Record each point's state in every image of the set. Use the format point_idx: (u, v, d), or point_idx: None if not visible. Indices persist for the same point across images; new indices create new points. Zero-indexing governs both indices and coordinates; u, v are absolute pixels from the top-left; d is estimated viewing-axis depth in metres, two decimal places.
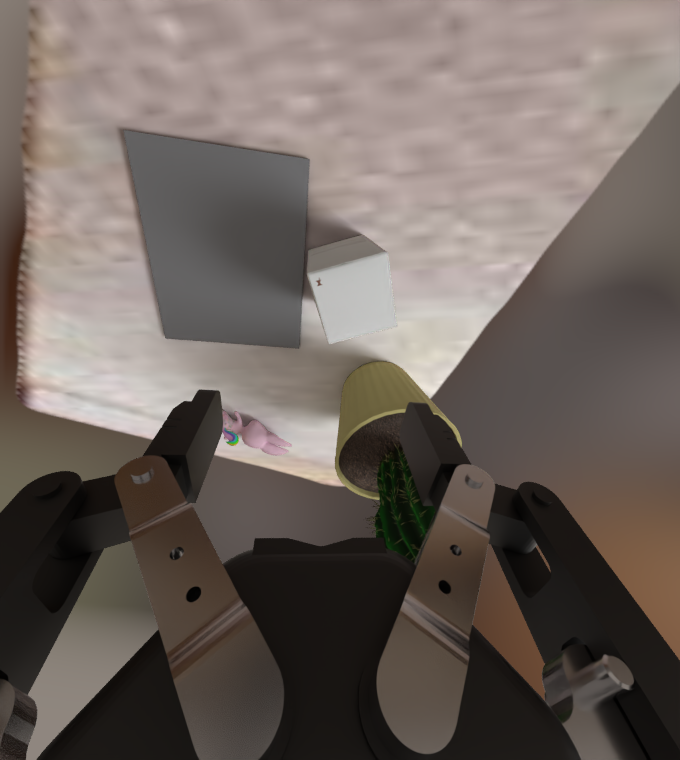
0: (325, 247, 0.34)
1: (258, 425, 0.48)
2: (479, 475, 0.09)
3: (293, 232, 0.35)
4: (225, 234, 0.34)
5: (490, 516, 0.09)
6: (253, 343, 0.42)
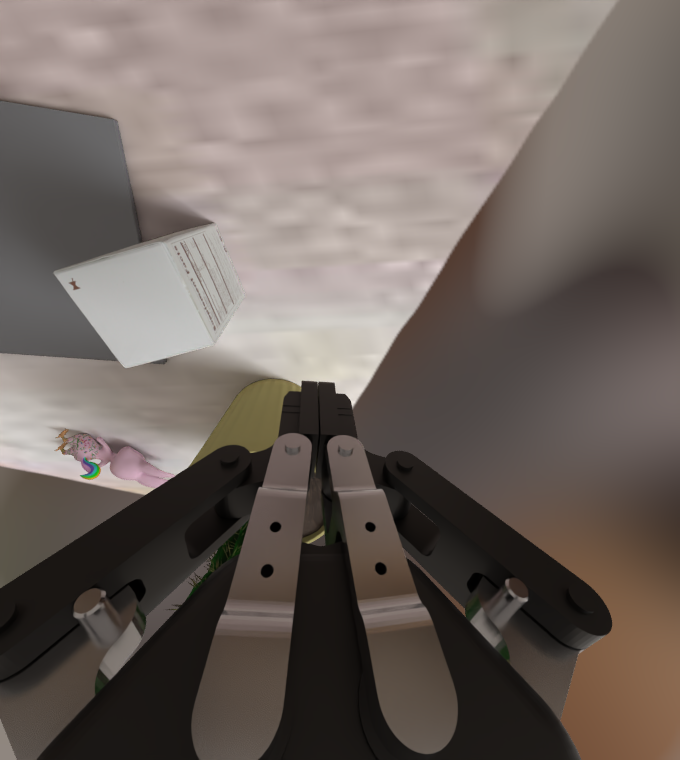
0: None
1: (129, 453, 0.40)
2: (348, 442, 0.10)
3: (117, 218, 0.27)
4: (26, 220, 0.26)
5: None
6: (104, 358, 0.34)
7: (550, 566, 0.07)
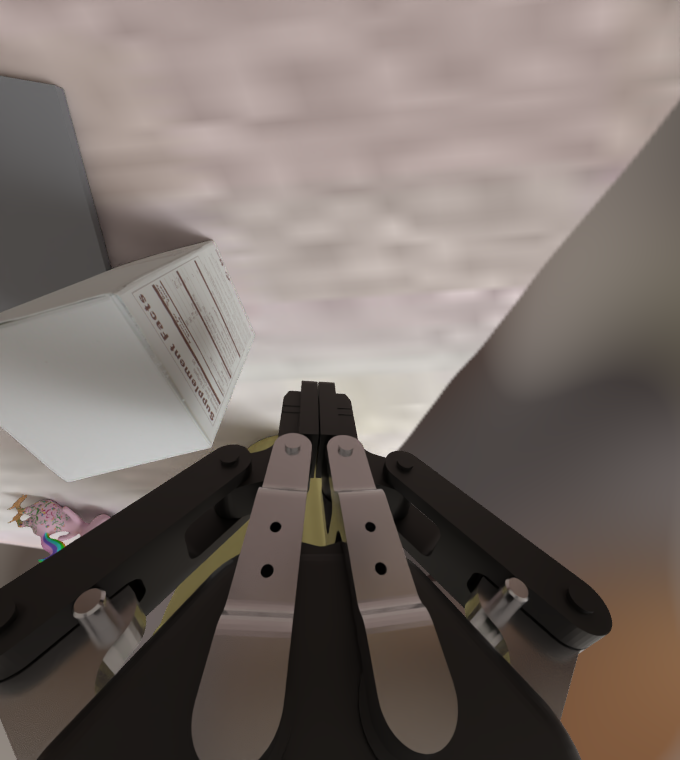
0: (126, 264, 0.18)
1: None
2: (348, 442, 0.10)
3: (72, 235, 0.19)
4: None
5: None
6: None
7: (550, 566, 0.07)
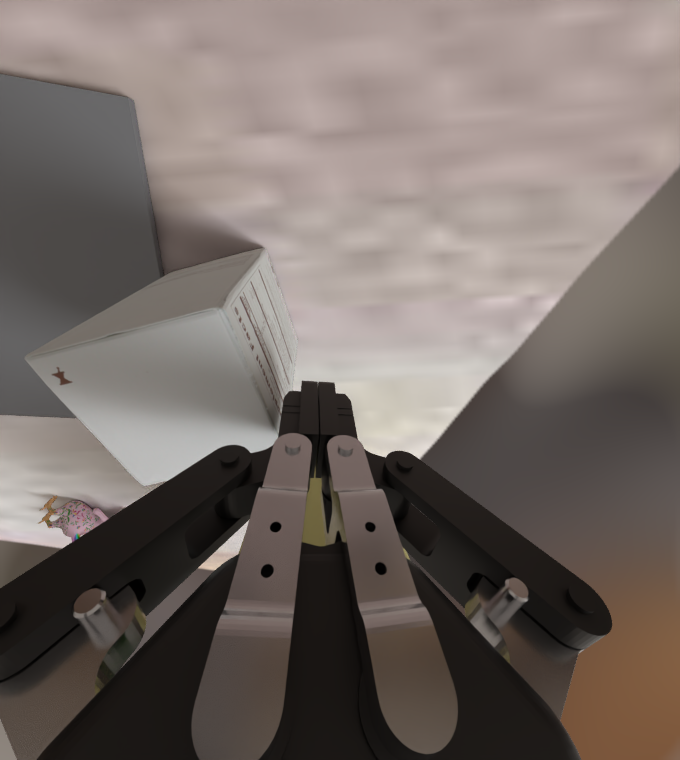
0: (185, 271, 0.18)
1: None
2: (348, 442, 0.10)
3: (130, 242, 0.19)
4: (0, 244, 0.18)
5: None
6: None
7: (550, 566, 0.07)
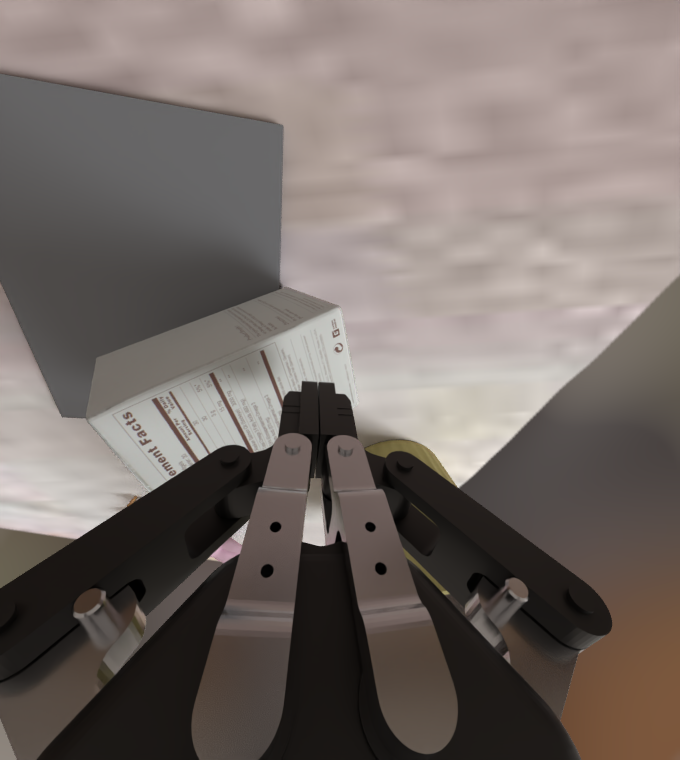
0: (268, 301, 0.19)
1: None
2: (348, 442, 0.10)
3: (258, 257, 0.20)
4: (138, 259, 0.20)
5: None
6: None
7: (550, 566, 0.07)
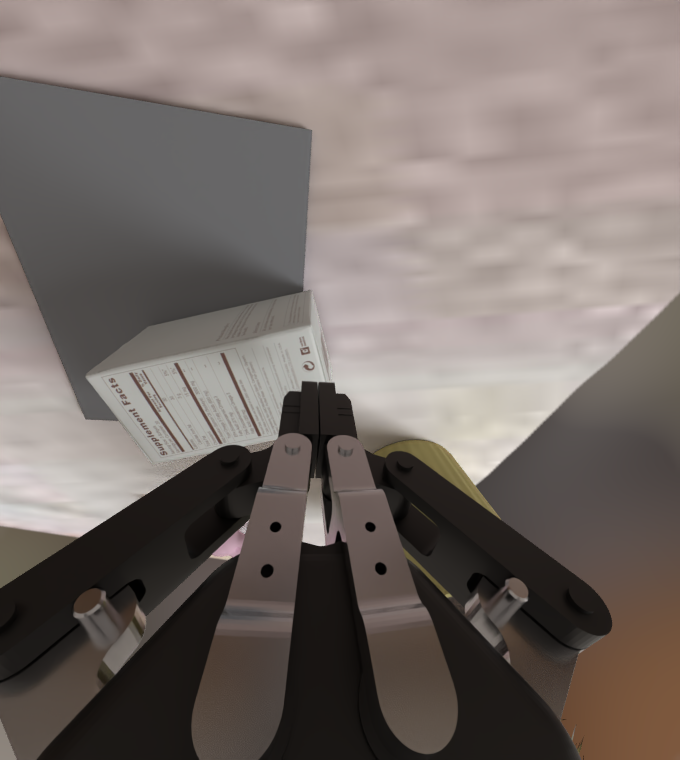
0: (276, 304, 0.20)
1: None
2: (348, 442, 0.10)
3: (283, 260, 0.20)
4: (166, 263, 0.20)
5: None
6: None
7: (550, 566, 0.07)
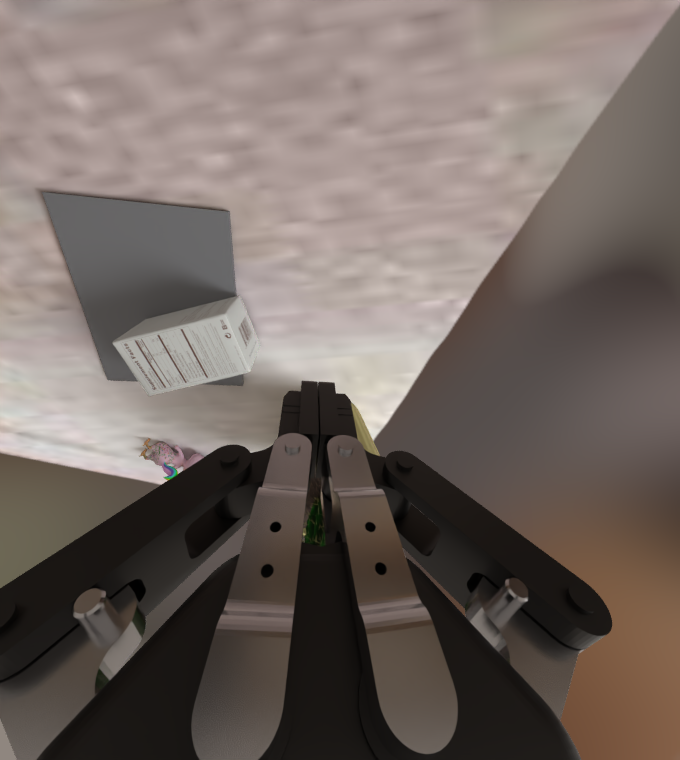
0: (216, 304, 0.34)
1: (199, 459, 0.48)
2: (348, 442, 0.10)
3: (221, 278, 0.35)
4: (154, 282, 0.35)
5: None
6: None
7: (550, 566, 0.07)
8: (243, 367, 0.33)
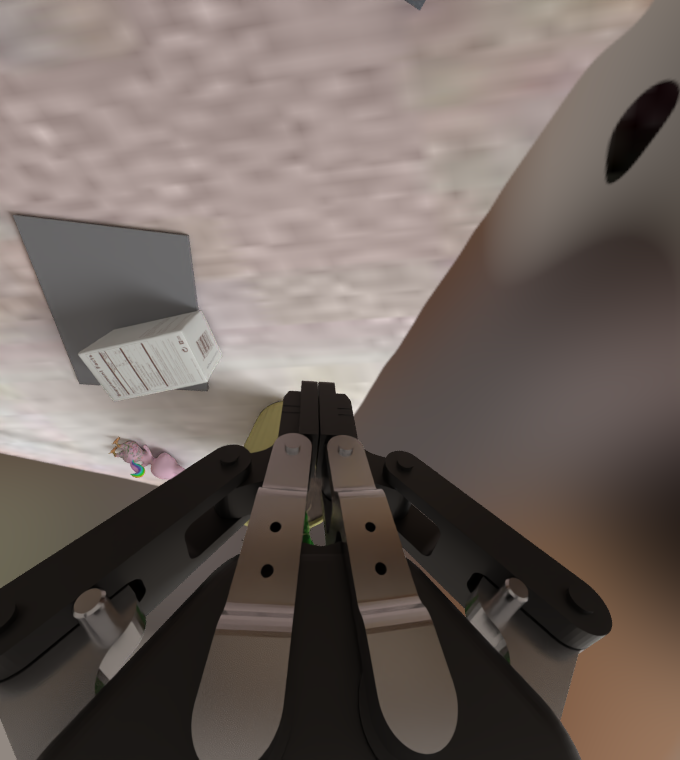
0: (177, 318, 0.38)
1: (166, 458, 0.51)
2: (348, 442, 0.10)
3: (183, 294, 0.38)
4: (121, 297, 0.38)
5: None
6: None
7: (550, 566, 0.07)
8: (200, 377, 0.37)
